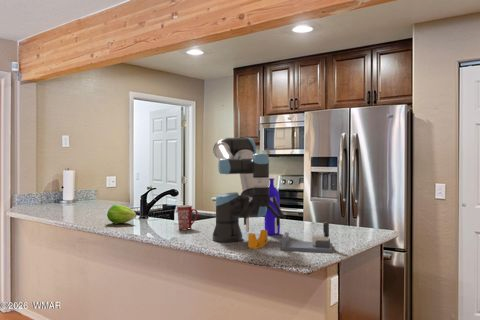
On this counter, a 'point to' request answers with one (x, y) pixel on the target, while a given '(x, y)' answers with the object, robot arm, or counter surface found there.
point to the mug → (185, 216)
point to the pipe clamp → (257, 240)
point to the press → (304, 245)
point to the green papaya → (120, 214)
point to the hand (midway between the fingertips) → (261, 232)
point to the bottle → (269, 215)
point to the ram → (322, 237)
